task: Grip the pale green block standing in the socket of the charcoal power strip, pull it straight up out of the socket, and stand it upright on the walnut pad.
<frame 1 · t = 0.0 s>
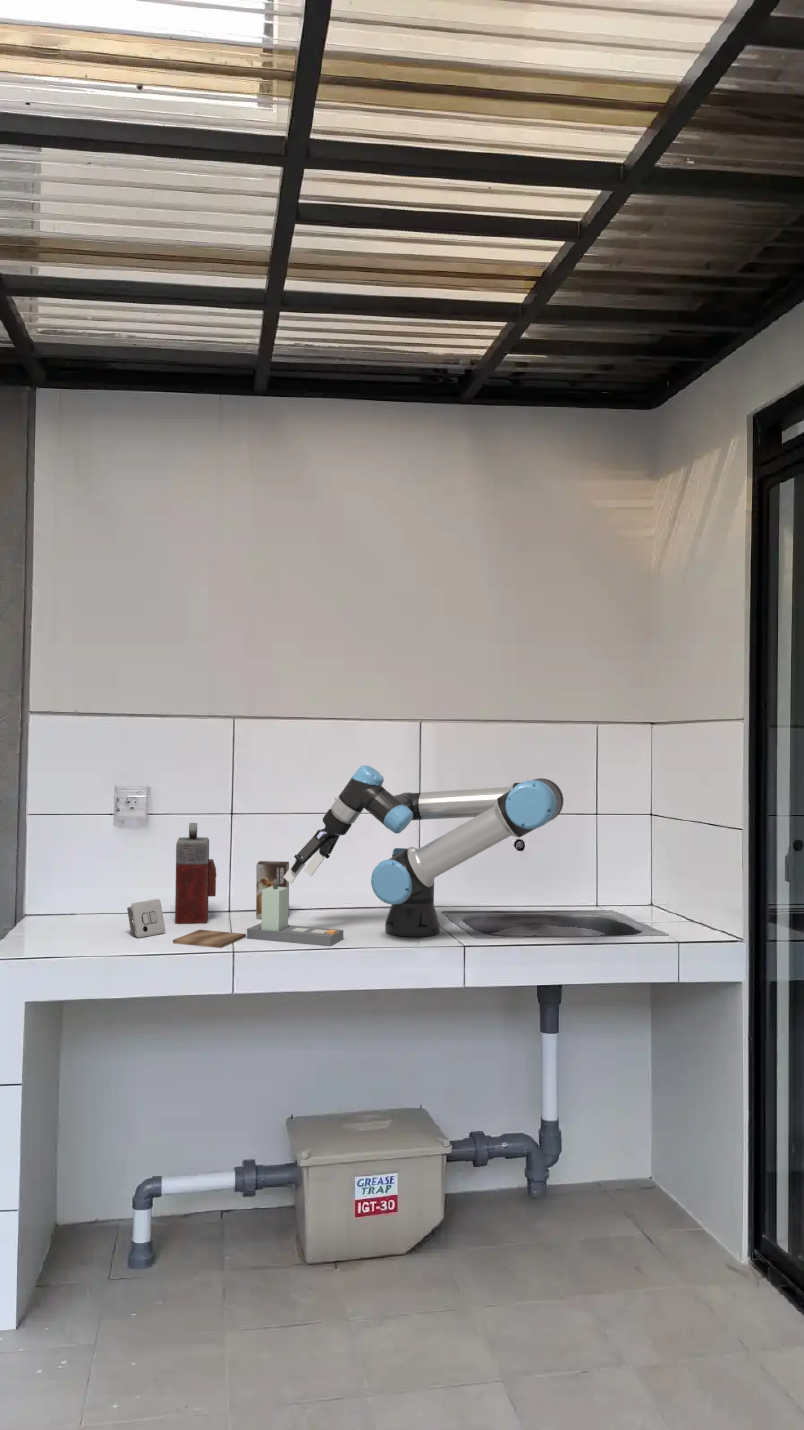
hand: (297, 876, 299), 15 cm above the table, tool tilted 35°, fingers open, 13 cm apart
electrical switch: (145, 935, 293), on the table
pale green block: (274, 937, 293), resting in power strip
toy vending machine: (195, 921, 313), on the table
power strip: (295, 938, 291), on the table
walnut pad: (210, 939, 288), on the table
coffee box: (272, 917, 319), on the table
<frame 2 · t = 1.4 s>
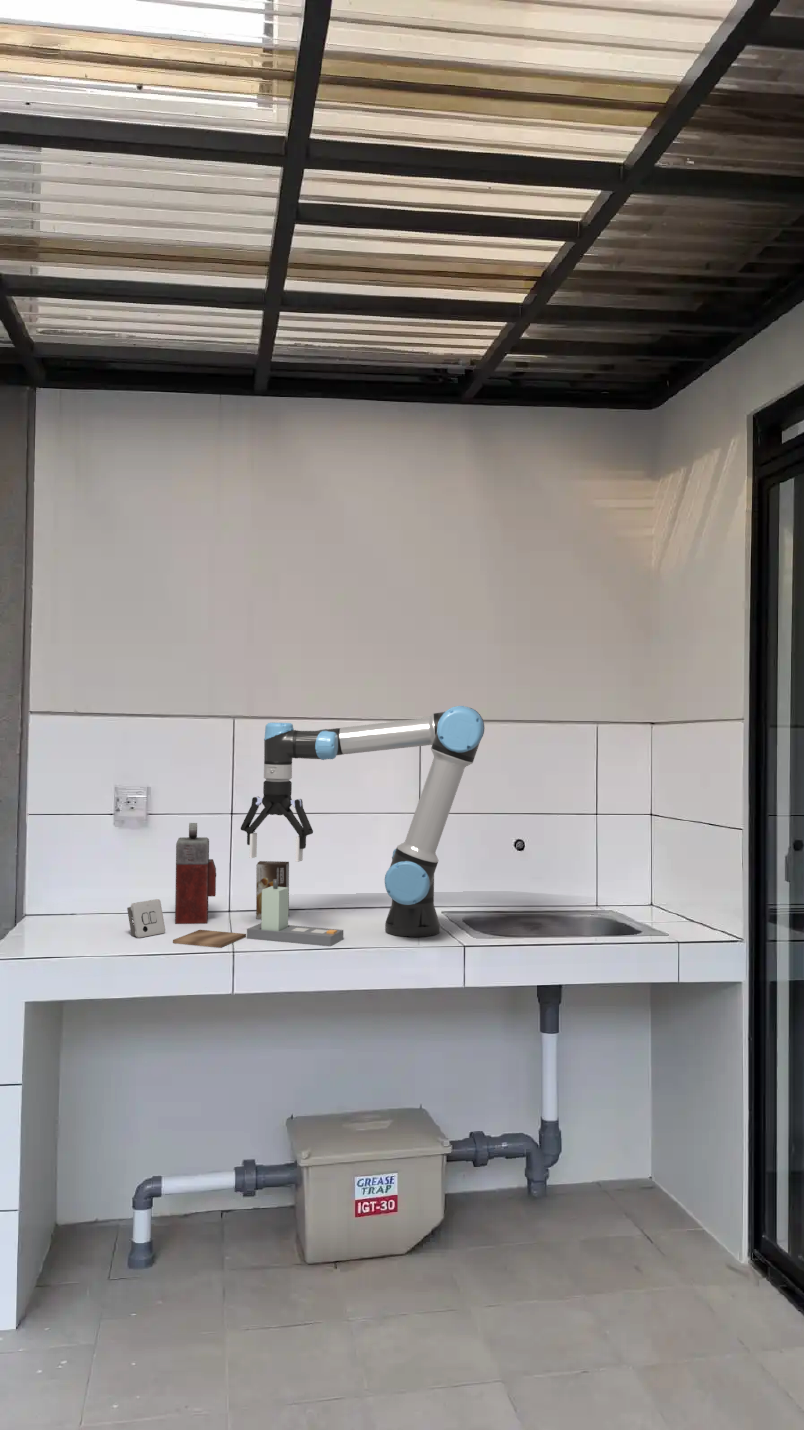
hand: (275, 859, 292), 21 cm above the table, tool pointing down, fingers open, 13 cm apart
nothing on the table moved.
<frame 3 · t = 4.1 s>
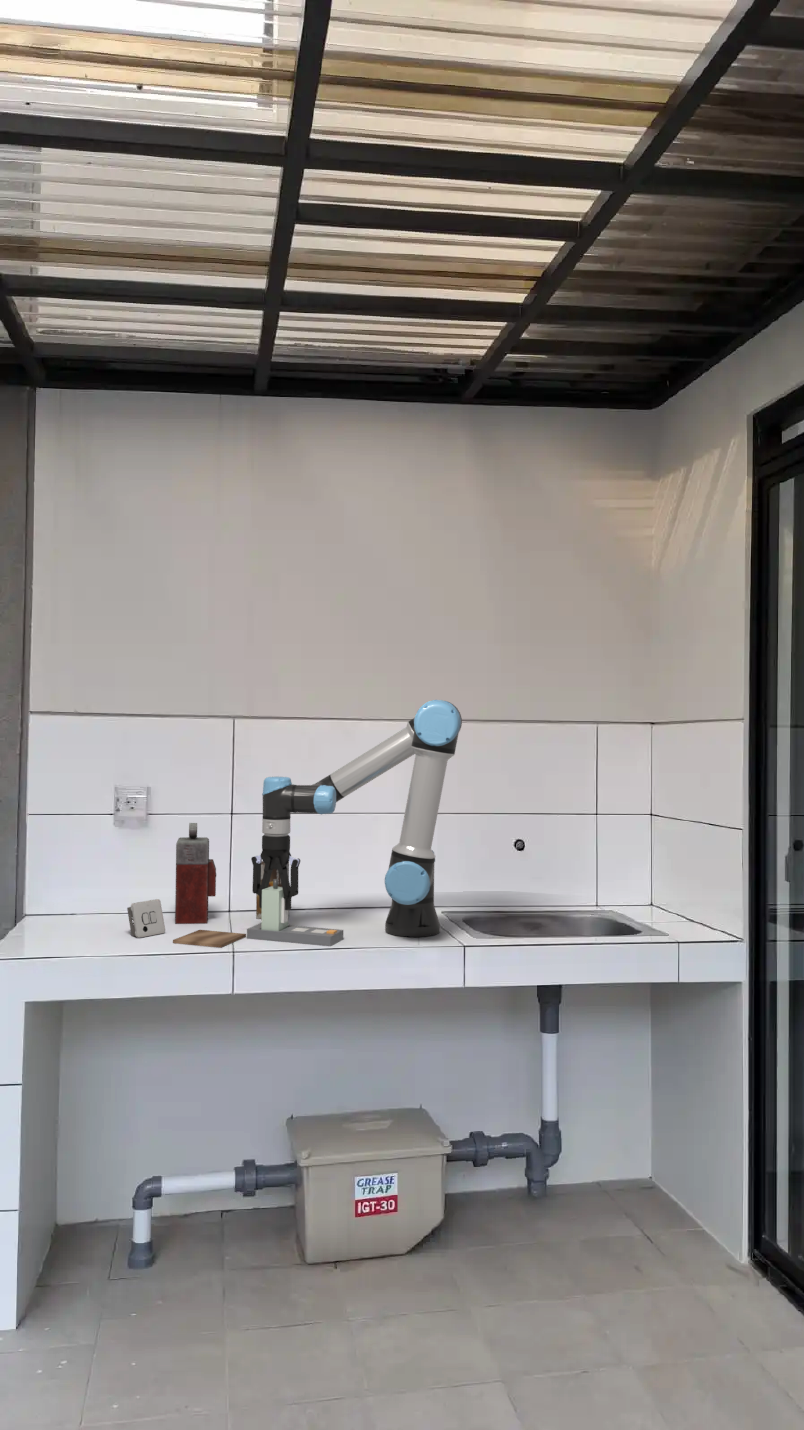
hand: (274, 921, 293), 4 cm above the table, tool pointing down, fingers closed on pale green block, 5 cm apart
pale green block: (274, 936, 293), resting in power strip, touching gripper
everything else where it was.
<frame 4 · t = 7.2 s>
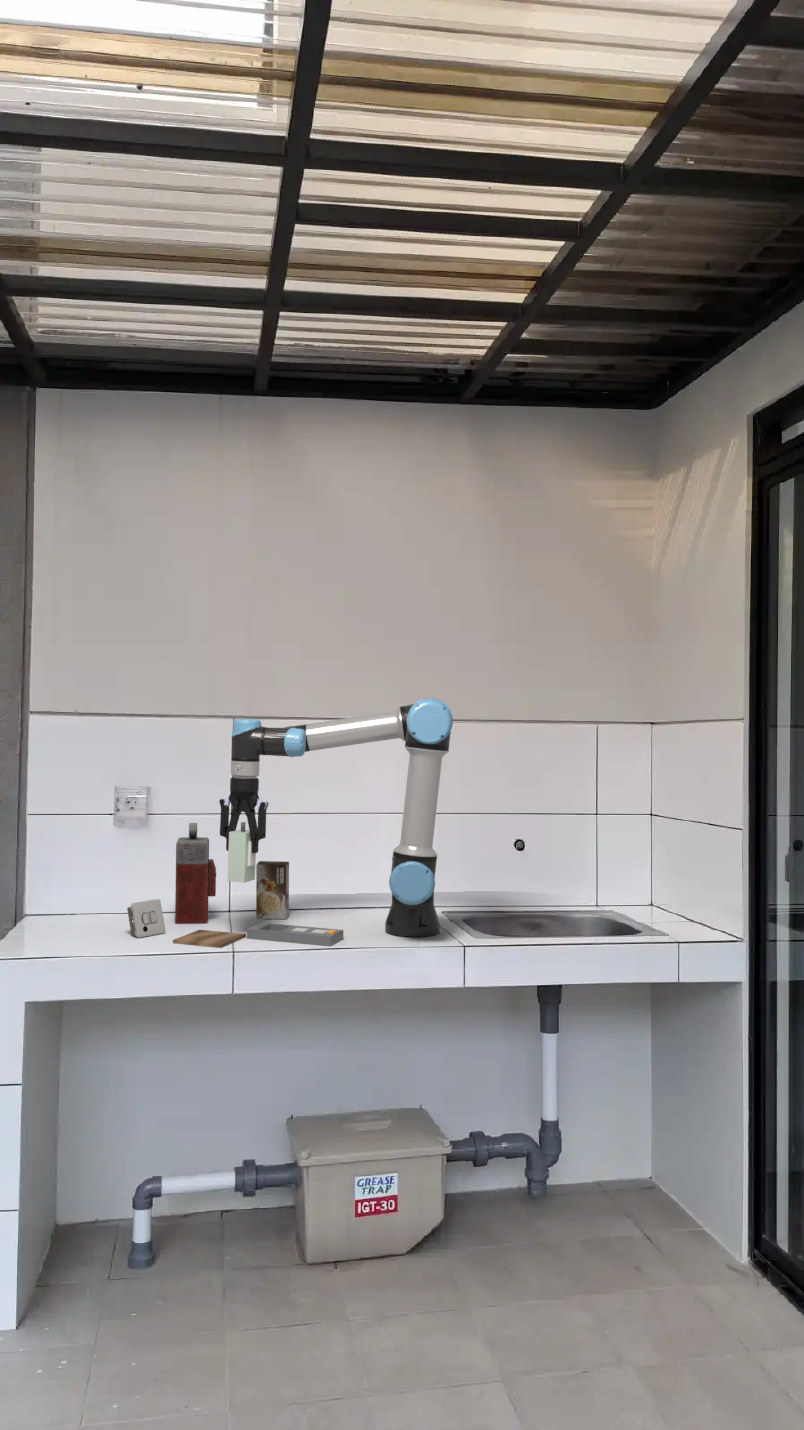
hand: (241, 864, 290), 20 cm above the table, tool pointing down, fingers closed on pale green block, 5 cm apart
pale green block: (241, 880, 290), point 15 cm above the table, touching gripper
everything else where it was.
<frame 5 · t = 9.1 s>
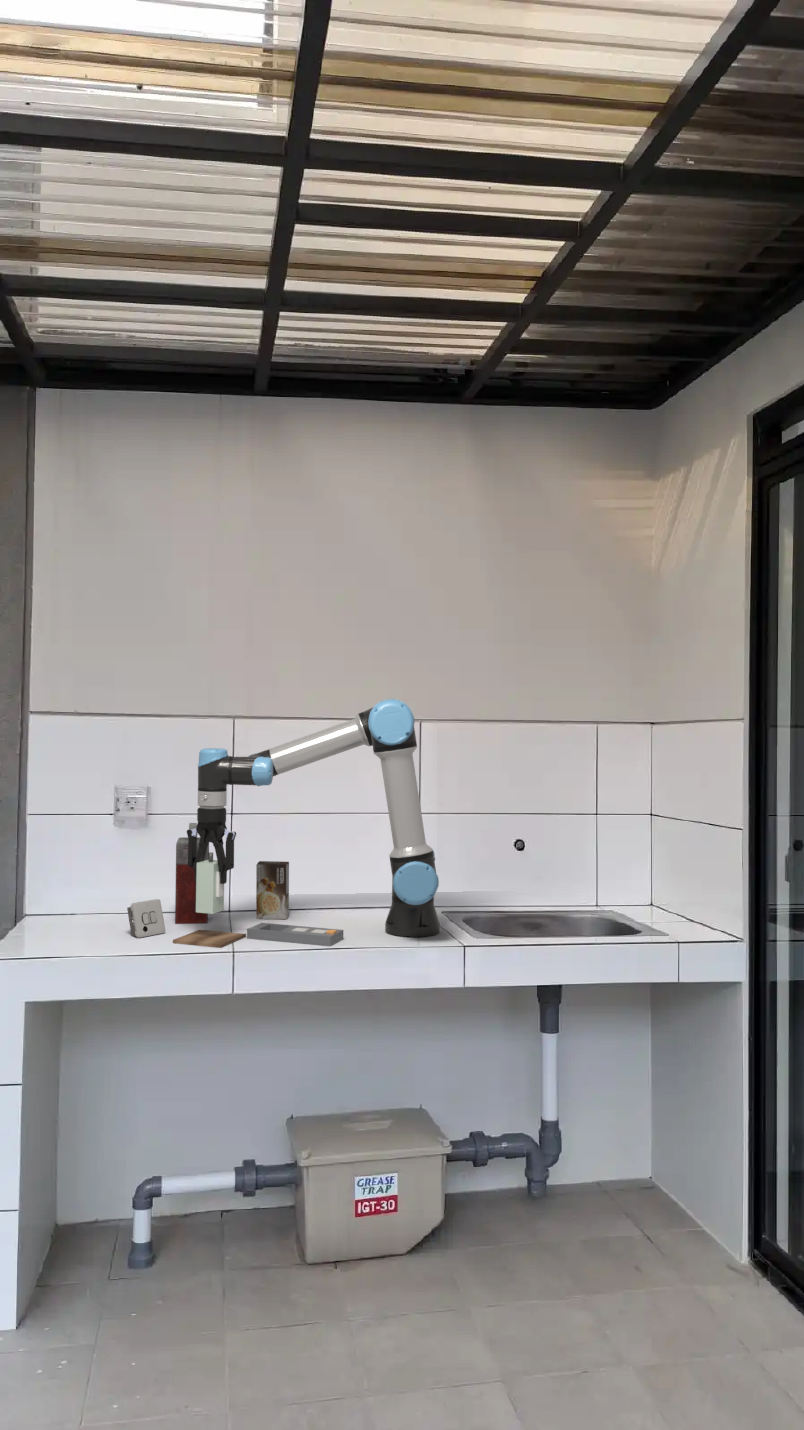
hand: (210, 895, 287), 12 cm above the table, tool pointing down, fingers closed on pale green block, 5 cm apart
pale green block: (209, 911, 288), point 8 cm above the table, touching gripper
everything else where it was.
when the fingers open (6 cm above the table, at t = 10.8 s): pale green block drops 1 cm, resting on walnut pad.
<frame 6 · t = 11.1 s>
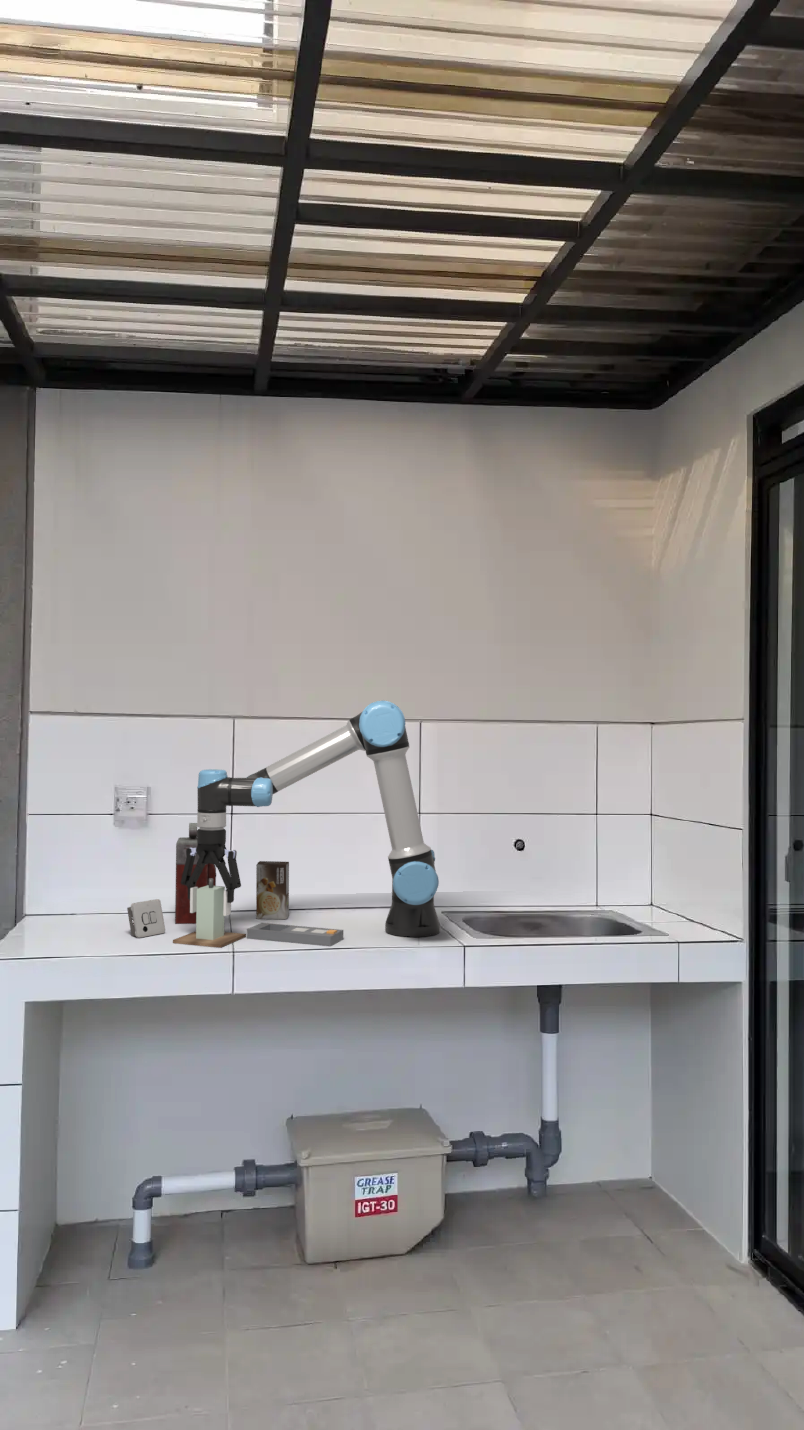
hand: (210, 913, 288), 7 cm above the table, tool pointing down, fingers open, 9 cm apart
pale green block: (210, 936, 288), point 1 cm above the table, touching walnut pad
everything else where it was.
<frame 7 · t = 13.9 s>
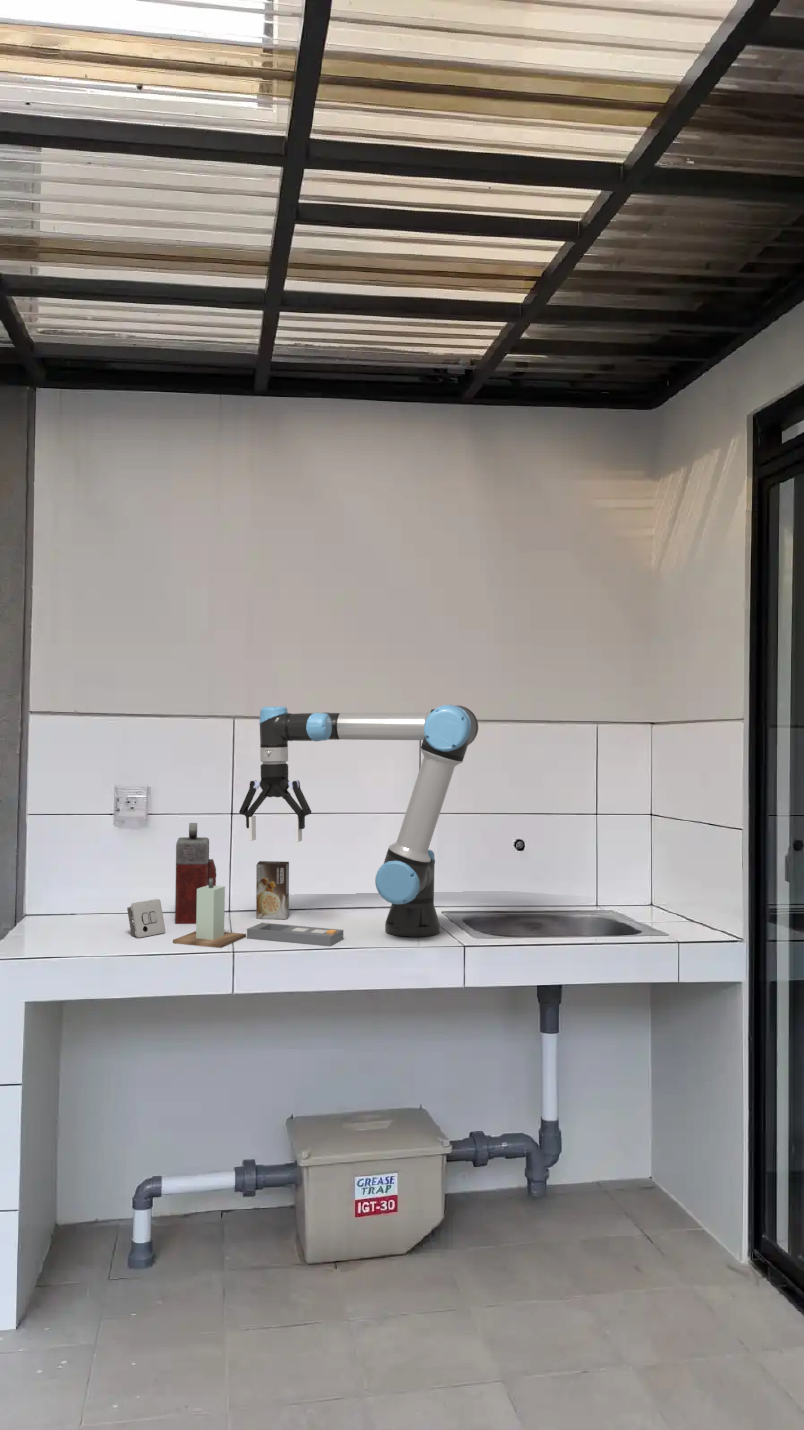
hand: (275, 840, 298), 25 cm above the table, tool pointing down, fingers open, 13 cm apart
nothing on the table moved.
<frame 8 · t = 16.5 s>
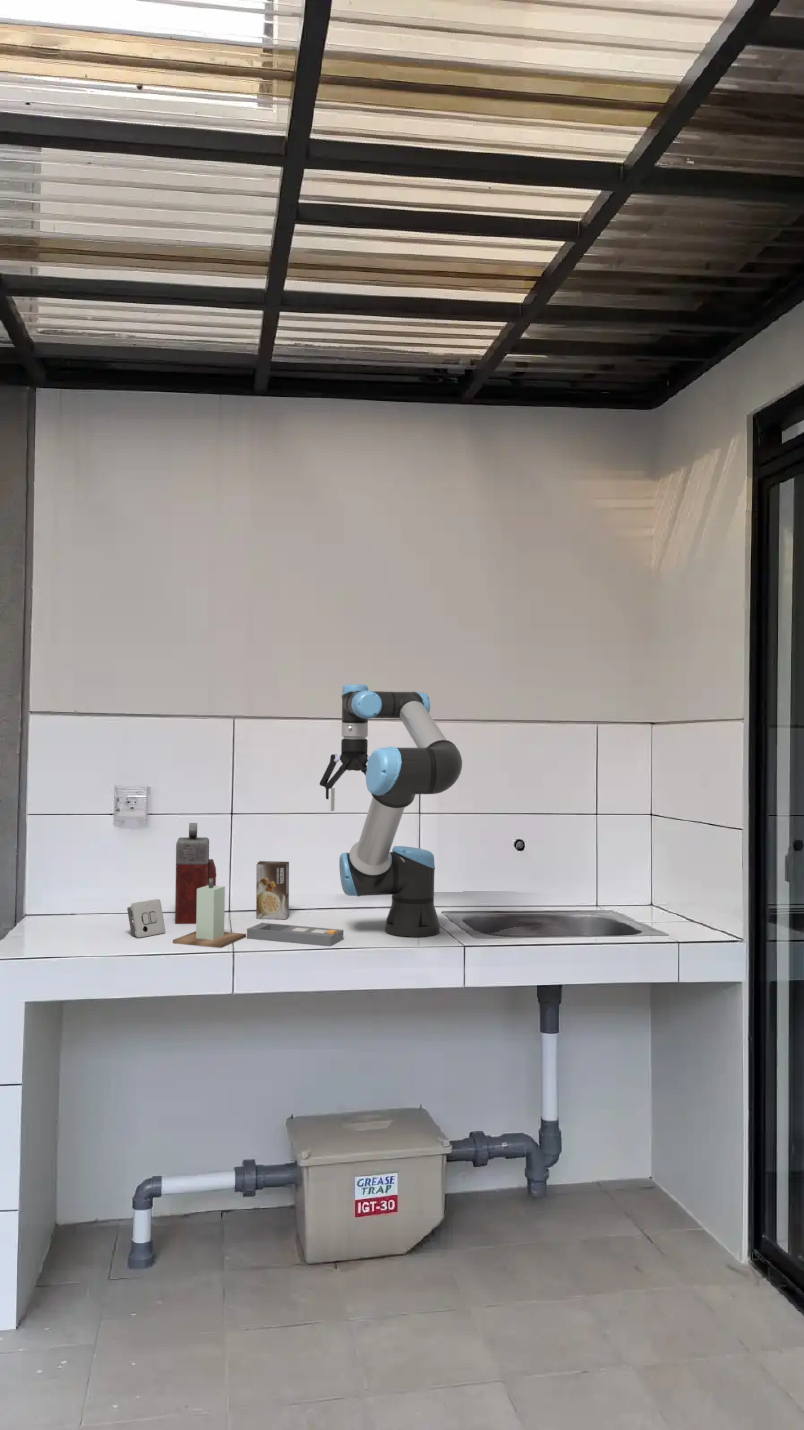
hand: (353, 812, 313), 32 cm above the table, tool pointing down, fingers open, 13 cm apart
nothing on the table moved.
at the end: pale green block inside the target area on the walnut pad (0.0 cm from its centre), point 0.8 cm above the walnut pad's base; pale green block tilted 0°; the gripper is holding nothing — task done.
